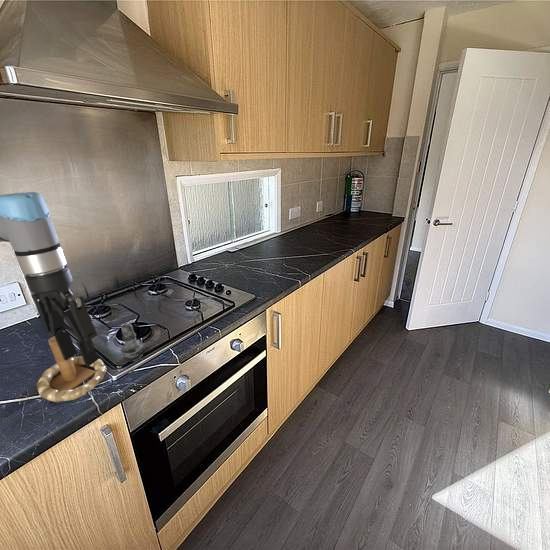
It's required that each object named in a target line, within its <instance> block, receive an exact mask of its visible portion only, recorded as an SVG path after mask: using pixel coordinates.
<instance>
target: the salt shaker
mask: <svg viewBox="0 0 550 550" xmlns="http://www.w3.org/2000/svg"><path fill="white" fill-rule="evenodd" d="M120 329H121V330H120V331H121V334H122V337H121V339H122V340H123V341H124V344H123V346H122V347H121V349H120V353H121V354H122V355H123V356H124V357H125V358H128V359H131V360H130V361H129V362H131V361H136V360H138V359H140V358H141V357H142V356H143V353H144V352H143V350H144V343H143V342H142V341H138V340H137V337H136V336H137V333H135V330H134V326H133V325H132V324H131V323H128V322H127V321H124V323H123V325H121V328H120ZM142 352H143V353H142Z"/></svg>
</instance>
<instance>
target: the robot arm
mask: <svg viewBox="0 0 550 550" xmlns="http://www.w3.org/2000/svg"><path fill="white" fill-rule="evenodd" d="M1 242H4V243H5V242H6V243H9V244H10V246H11V248H12V250H13V253H14V256H15V258H16V261H17V263H18V266H19V268H20V270H21V273H22V274H24V275H25V276H24V279H25V281H26V283H27V287H28V288H29V291H30V292H31V293H32V294H31V298H32V300H33V302H34V303H35V305H36V308H37V312H38V314H39V316H40V319H41V321H42V322H41V323H42V325H43V329H44V331H45V332H46V333H49V332H50V334H51V335H52V337H54V336H55V339H56V341H57V343H58V346H59V348H60V351H61V353H62V355H63V358H64V360H68V359H69V358H71V357H75V355H76V356H77V354H78V351H77V350H76V347H75V345H74V342H73V340H72V337H71V335H70V331H69V330H68V329H69V328H70V329H71V331H72V332H73V334H74V335H75V337H76V339H77V341H76V342H75V344H77V348H78V349H79V352H80V356H82V358H83V360H84V363H85V365H84V366H85V367H86V368H88V367H91V366H90V365H91V364H92V363H94V362H95V361H97V360H98V359H99V357H98V355H97V352H96V349H95V345H94V342H93V340H92V339H94V338H96V337H97V336H98V333H97V329H96V328H95V325H94V323H93V321H92V319H91V316H90V315H89V314H90V313H89V311H88V309H87V307H86V301H85V298H84V296H83V295H82V296H81V295H80V296H78V297H76V296H74V294H73V292H72V291H71V289H70V286H71V285H72V284H73V282H74V279H73V276H72V273H71V270H70V268H69V266H67V263H68V262H67V259H66V257H65V255H64V249H63V248H62V246H61V244H60V239H59V236H58V234H57V230H56V227H55V224H54V221H53V218H52V215H51V211H50V209H49V208H48V206H47V203H46V201H45V199H44V197H43V195H42V194H41V193H40V192H36V191H27V192H15V193H6V194H0V243H1ZM65 321H66V323H67V324H68V326H69V328H68V327H67V326H66V325H65Z"/></svg>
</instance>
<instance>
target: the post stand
mask: <svg viewBox="0 0 550 550" xmlns="http://www.w3.org/2000/svg"><path fill="white" fill-rule="evenodd" d="M47 342H48V345H49V347H50V350H51V352H52V354H53V357H54V359H55V362H56V363H57V365H58V367H59V370H60V372H59V373H60V374H57V375H56V376H54V377H53V378H52V380H51V382H50V386H51V388H52V389H55V390H58V391H63V390H73V389H75V388H77V387H79V386H80V385H81V384H82V383H83V382H85V381H86V380H87V379H89V378H91V376H94V375H95V372H96V371H95V369H94V370H93V369H90V368H88V367H84V366H82V365H79V366H74V364H73V361H72V359H71V358H69V359H68V360H64V358H63V355H62V353H61V351H60V348H59V346H58V343H57V341H56V339H55V336H52V337H50V338H49V339H48V340H47Z"/></svg>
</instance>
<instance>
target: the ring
mask: <svg viewBox="0 0 550 550" xmlns="http://www.w3.org/2000/svg"><path fill="white" fill-rule="evenodd" d="M71 359H72V361H73V364H74V366H85V363H84V360H83V358H82V355H80V356H79V355H78V356H72V357H71ZM89 367H91V368H93V369H94V371H96V372H95V373H94V374H93V377H92V378H91V379H90V380H88V381H87V382H85V383H84V384H82V385H79V386H77V387H75V388H74V389H73V390H63V391H58V390H55V389H52V388H51V386H50V382H51V380H52V379H54V378H55V377H56V376H58V375H59V373H61V372H60V370H59V367H58V365H57V362H56V363H54V364H53V365H51V366H50V367H48V369H46V370H45V371H43V372H42V374H41V376H40V378H39V379H38V381H37V383H36V389H37V392H38V394H39V397H40V398H42V399H45V400H47V401H50V402H53V403H59V402H61V403H62V402H69V401H75V400H77V399H79V398H81V397H84V396H86V395H88V393H89V392H91V391H92V390H93V389H94V388H95V387H96V386H98V385H99V384H101V382H102V381H103V380H104V379H105V376H106V373H107V370H108V369H107V366H106V365H105V363H104V361H103V360H102V359H101V358H98V360H97V361H95V362H94V363H92V364H91V365H90V366H89Z"/></svg>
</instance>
